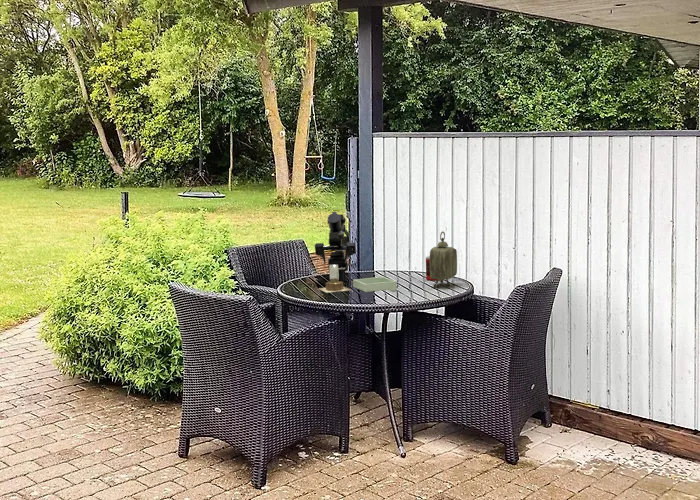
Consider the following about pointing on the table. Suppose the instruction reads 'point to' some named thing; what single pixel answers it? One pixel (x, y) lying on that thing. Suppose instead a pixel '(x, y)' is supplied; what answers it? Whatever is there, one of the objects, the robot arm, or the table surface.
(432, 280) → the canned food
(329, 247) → the robot arm
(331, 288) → the socket block
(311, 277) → the table surface
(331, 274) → the spice shaker
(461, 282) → the table surface
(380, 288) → the bin
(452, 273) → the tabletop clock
